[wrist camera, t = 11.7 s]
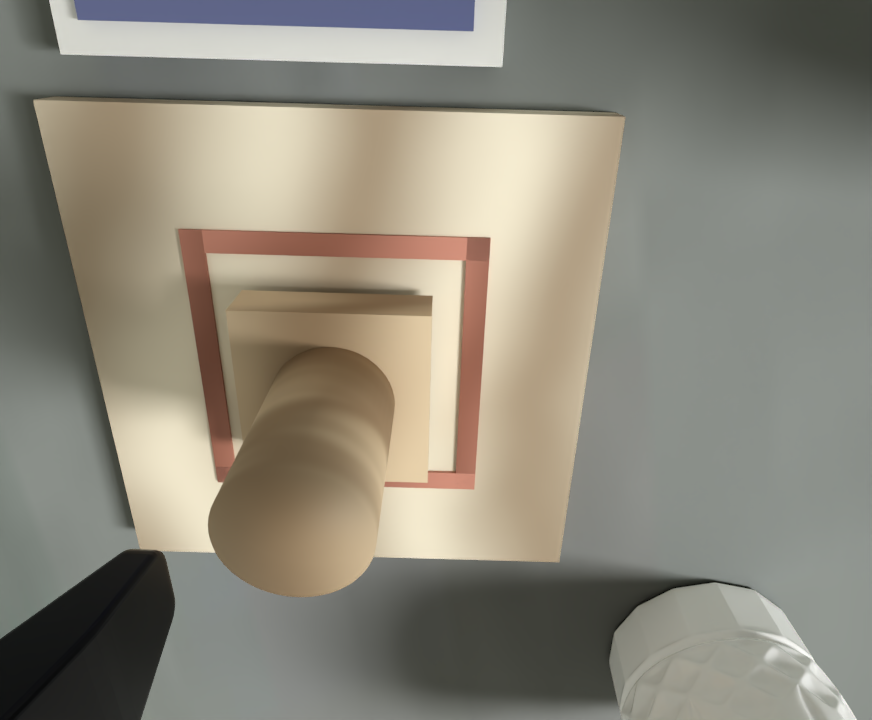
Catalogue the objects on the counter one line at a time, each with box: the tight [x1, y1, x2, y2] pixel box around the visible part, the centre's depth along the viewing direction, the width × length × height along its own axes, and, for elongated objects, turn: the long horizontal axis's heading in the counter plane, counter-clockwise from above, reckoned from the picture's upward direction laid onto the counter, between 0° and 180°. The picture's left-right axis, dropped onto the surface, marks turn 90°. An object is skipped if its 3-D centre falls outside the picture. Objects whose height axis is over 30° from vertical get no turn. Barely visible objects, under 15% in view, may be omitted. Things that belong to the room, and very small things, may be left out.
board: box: [33, 96, 625, 562], centre depth 19 cm, size 14×14×1 cm
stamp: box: [208, 290, 433, 597], centre depth 15 cm, size 5×5×7 cm
